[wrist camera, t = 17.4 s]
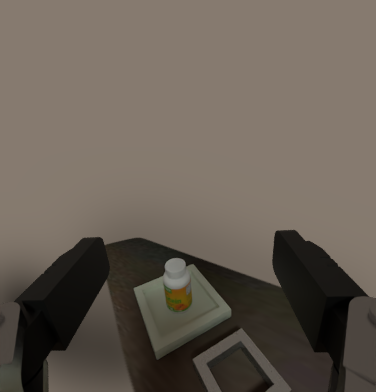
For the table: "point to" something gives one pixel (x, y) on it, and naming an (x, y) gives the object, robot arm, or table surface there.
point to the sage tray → (179, 323)
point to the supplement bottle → (177, 286)
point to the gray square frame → (226, 347)
